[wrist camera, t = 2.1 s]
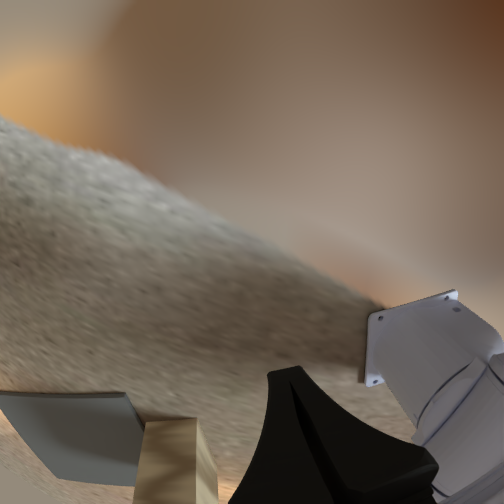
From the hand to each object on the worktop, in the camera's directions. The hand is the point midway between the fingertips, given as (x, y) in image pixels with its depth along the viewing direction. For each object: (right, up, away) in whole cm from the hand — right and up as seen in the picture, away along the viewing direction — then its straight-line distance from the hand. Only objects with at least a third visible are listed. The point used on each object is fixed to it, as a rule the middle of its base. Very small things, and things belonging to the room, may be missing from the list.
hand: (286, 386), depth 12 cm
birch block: (-8, -14, +14) cm, 22 cm away
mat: (-20, -16, +14) cm, 29 cm away
